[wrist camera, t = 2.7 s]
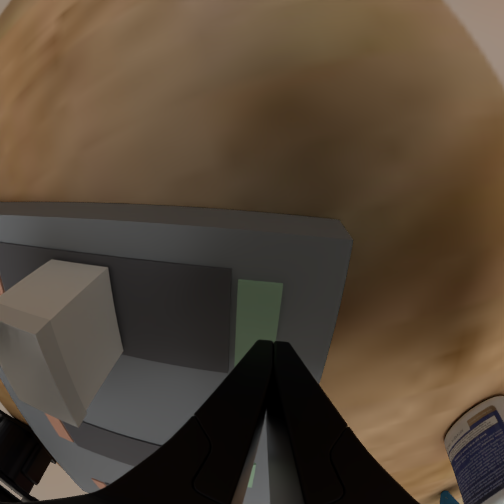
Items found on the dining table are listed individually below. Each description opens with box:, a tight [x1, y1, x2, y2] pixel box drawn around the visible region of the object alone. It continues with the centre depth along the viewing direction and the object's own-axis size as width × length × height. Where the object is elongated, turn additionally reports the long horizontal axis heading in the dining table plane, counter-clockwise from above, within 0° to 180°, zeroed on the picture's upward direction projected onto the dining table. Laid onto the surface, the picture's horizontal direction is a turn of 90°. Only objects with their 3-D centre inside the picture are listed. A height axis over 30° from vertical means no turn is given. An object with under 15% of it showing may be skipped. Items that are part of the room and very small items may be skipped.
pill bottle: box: [444, 396, 504, 504], centre depth 9 cm, size 5×5×10 cm
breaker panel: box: [0, 202, 353, 504], centre depth 14 cm, size 18×28×2 cm, turn 176°
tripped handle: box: [0, 259, 123, 428], centre depth 7 cm, size 2×3×4 cm
